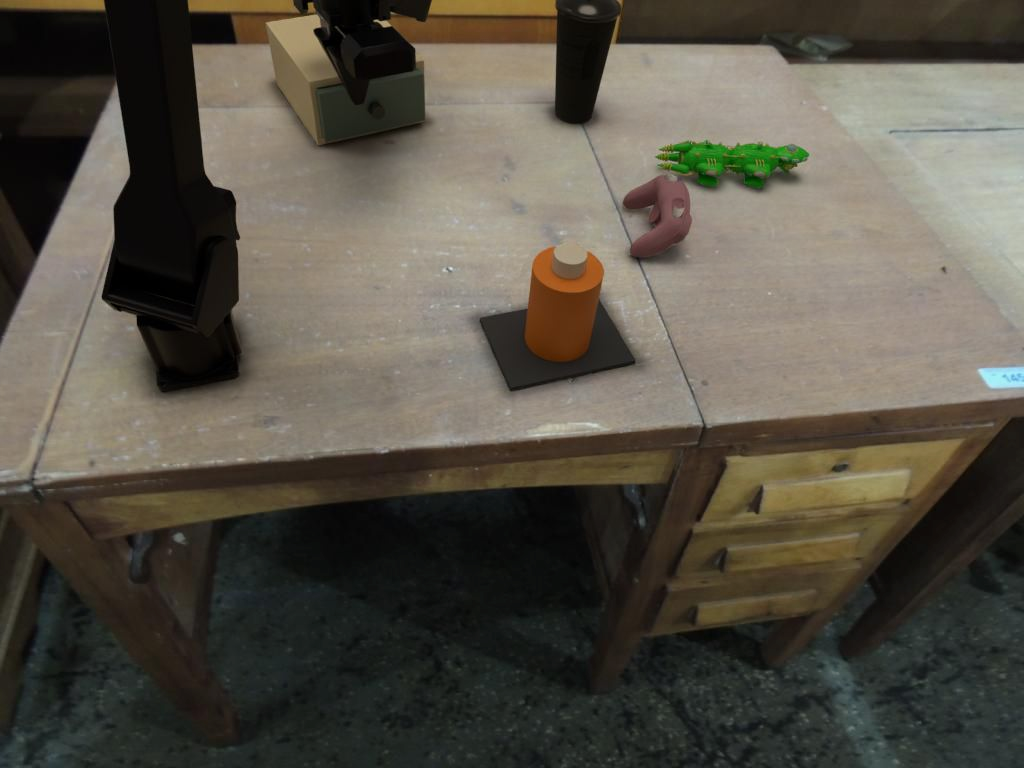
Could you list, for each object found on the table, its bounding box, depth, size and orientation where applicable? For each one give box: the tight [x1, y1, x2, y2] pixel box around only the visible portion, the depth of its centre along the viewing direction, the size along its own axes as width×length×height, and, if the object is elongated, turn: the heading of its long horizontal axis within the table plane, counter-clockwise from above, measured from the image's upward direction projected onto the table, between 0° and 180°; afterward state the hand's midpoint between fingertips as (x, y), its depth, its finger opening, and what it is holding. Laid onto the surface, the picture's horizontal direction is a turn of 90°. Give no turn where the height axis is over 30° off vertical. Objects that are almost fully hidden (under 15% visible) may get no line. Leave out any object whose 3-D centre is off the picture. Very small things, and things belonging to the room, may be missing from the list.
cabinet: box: [265, 13, 426, 146], centre depth 91 cm, size 16×14×8 cm
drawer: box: [316, 70, 426, 142], centre depth 90 cm, size 16×13×6 cm
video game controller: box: [622, 172, 693, 258], centre depth 78 cm, size 10×5×7 cm, turn 179°
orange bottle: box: [525, 242, 605, 362], centre depth 64 cm, size 6×6×10 cm
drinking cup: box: [554, 0, 623, 125], centre depth 88 cm, size 8×8×20 cm
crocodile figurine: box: [654, 139, 810, 189], centre depth 87 cm, size 7×18×4 cm, turn 93°
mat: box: [479, 299, 637, 392], centre depth 68 cm, size 12×9×1 cm
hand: (358, 103), depth 81 cm, fingers closed
